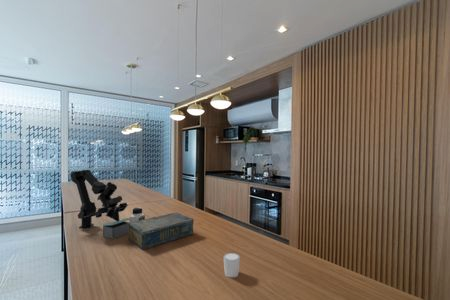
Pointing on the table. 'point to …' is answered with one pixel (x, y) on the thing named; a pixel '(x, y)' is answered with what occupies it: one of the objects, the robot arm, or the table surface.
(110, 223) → the lid
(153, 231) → the metal box
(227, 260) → the shot glass
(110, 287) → the table surface
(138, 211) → the medicine bottle
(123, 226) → the storage box
